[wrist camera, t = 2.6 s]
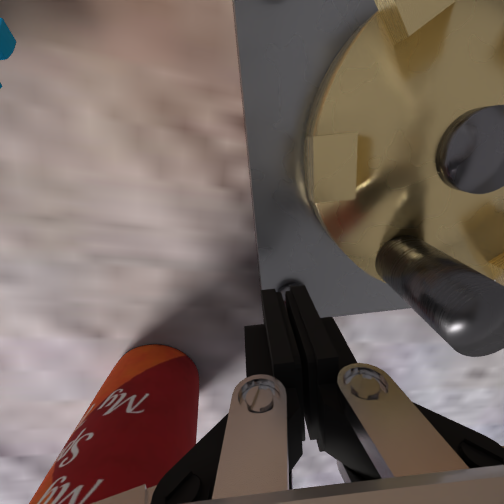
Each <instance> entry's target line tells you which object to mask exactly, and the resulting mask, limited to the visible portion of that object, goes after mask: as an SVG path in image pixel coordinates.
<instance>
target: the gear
mask: <svg viewBox="0 0 504 504" xmlns="http://www.w3.org/2000/svg"><path fill="white" fill-rule="evenodd" d="M15 45H16V40H15V39H14V37H13V35H12V33H11V32H10V30H9V28H8V27H7V25H6V23H5V22H4V20H3V19H2V18H0V60H5V59H7V58H9V57H10V56H11V54H12V53H13V51H14V48H15ZM1 87H2V85H1V83H0V88H1Z"/></svg>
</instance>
